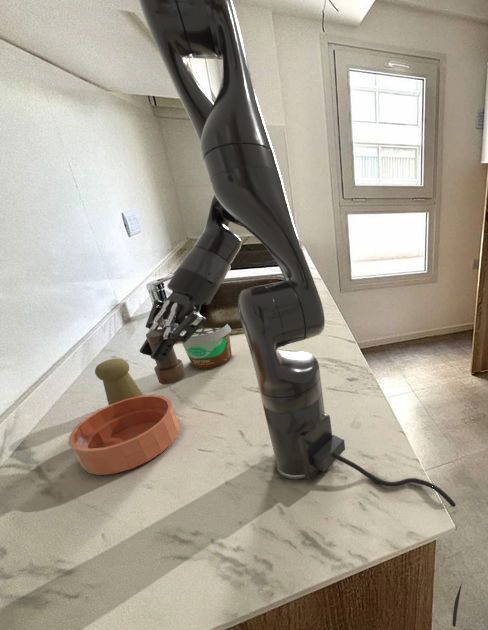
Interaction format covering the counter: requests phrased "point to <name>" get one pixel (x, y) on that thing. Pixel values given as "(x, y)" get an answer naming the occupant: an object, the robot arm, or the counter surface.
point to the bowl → (124, 434)
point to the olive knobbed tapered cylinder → (117, 380)
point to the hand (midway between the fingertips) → (151, 356)
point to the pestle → (166, 361)
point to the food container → (209, 347)
